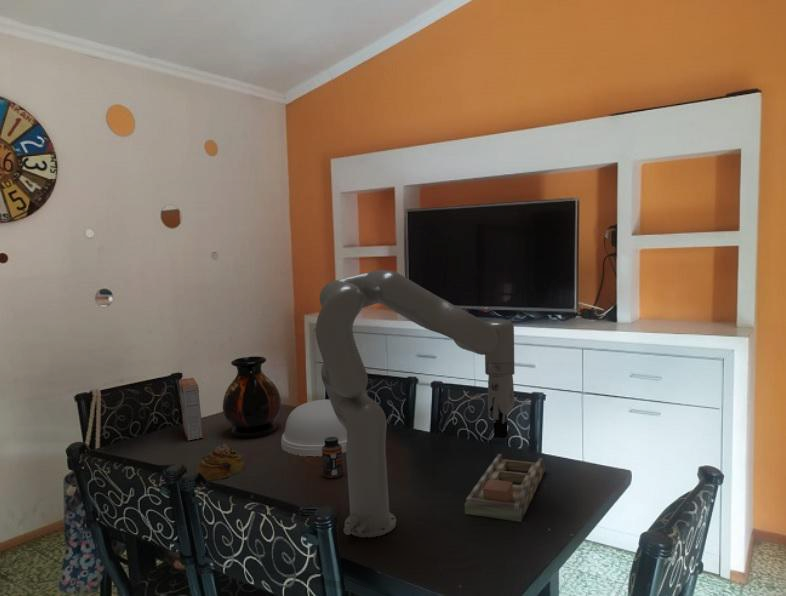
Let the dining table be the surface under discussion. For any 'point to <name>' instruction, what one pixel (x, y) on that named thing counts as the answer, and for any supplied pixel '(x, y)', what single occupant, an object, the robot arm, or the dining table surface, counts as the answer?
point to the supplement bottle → (332, 458)
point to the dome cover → (312, 429)
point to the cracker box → (191, 408)
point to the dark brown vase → (251, 400)
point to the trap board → (520, 493)
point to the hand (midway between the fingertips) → (500, 436)
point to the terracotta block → (498, 490)
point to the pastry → (220, 463)
